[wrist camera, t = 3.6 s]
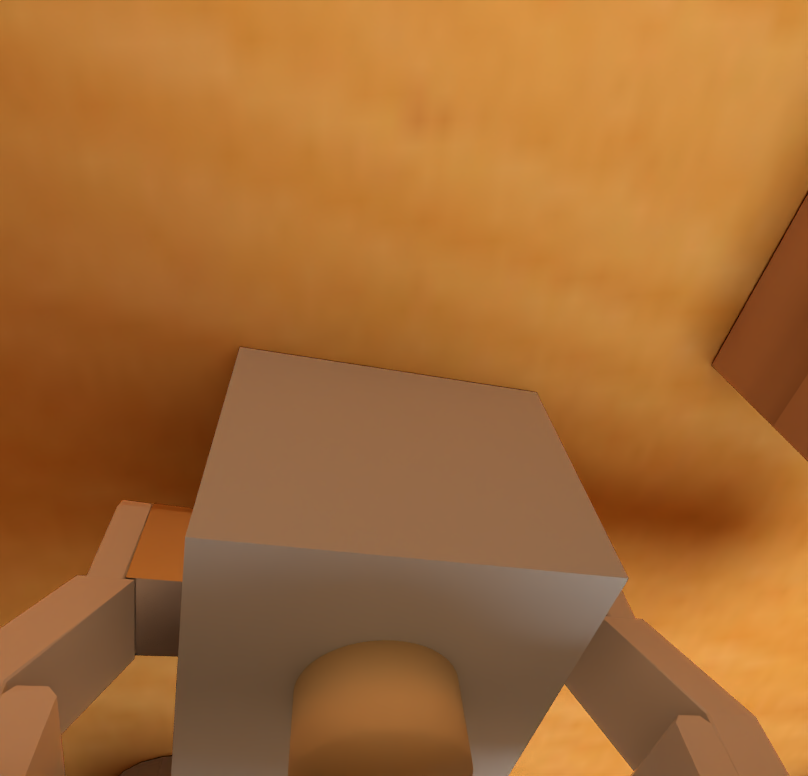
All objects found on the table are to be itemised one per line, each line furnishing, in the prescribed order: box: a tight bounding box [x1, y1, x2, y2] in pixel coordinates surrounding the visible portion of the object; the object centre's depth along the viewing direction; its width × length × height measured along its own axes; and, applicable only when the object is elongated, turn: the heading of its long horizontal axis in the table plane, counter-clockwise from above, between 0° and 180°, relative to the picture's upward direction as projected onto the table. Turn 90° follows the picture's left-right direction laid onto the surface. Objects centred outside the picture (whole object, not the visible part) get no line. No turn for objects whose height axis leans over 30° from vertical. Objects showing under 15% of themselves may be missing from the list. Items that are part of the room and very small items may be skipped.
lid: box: [171, 347, 629, 776], centre depth 10 cm, size 6×6×6 cm
